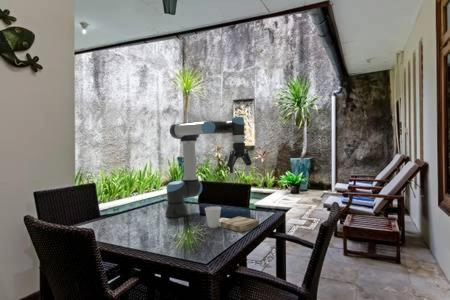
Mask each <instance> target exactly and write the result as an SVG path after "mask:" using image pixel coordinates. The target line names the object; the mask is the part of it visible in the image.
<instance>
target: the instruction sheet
mask: <svg viewBox="0 0 450 300" xmlns="http://www.w3.org/2000/svg"><path fill="white" fill-rule="evenodd" d="M229 219H230V218H226V217H220V219H219V223H221V222H222V221H225V220H229Z"/></svg>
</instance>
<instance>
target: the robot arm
mask: <svg viewBox="0 0 450 300" xmlns="http://www.w3.org/2000/svg"><path fill="white" fill-rule="evenodd" d="M169 134H170V136H171V137H172V138H174V139H176V140H180V143H182V148H183V149H182V152H183V168H184V169H183V170H184V171H183V173H184V176H183V178H182V180H174V181H171V182H169V183H168V184H167V185H166V199H167V204H166V210H165V214H164V215H165V218H169V217H170V219H171V218H172V219H175V218H176V217H177V218H183V217H186V216H188V210H187V207H186V204H185V200H186V199H190V198H196V197H198V196H200V194H201V193H202V192H203V184H202V182H201V181H200V180H199V177H198V175H197V161H196V160H197V159H196V143H197V142H198V138H199V137H200V135H209V134H211V135H213V134H221V135H223V134H224V135H226V134H232V142H233V143H232V149H233V150H230V151H229V156H228V160H227V164H226V167H228V168H229V173H230V179H235V167H234V166H235V165H236V162H237V161H238V159H239V158H241V159H242V161H243V162H244V164H245V165H244V173H245V175H244V176H245V177H246V176H247V177H249V176H250V170H251V169H250V166H252V164H253V162H252V160H251V158H250V155H249V154H250V153H249V149H246V143H245V142H246V140H245V139H246V138H245V137H246V135H245V134H246V133H245V118H244V116H233V117H232V118H231V120H228V121H222V120H221V121H217V120H205V121H200V122H174V123H172V124H171V125H170V127H169ZM177 218H176V219H177Z"/></svg>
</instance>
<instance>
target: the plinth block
mask: <svg viewBox="0 0 450 300" xmlns="http://www.w3.org/2000/svg"><path fill="white" fill-rule="evenodd" d="M228 219H229V220H225V221H222V222H220V228H223V229H228V230H232V231H236V232H239V233H242V232H244V231H245V232H246V231H248V230H251V229H254V228H257V227H259V226H260V220H259V219H253V218H248V217H243V216H235V217H232V218H228ZM258 225H259V226H258ZM253 227H254V228H253Z"/></svg>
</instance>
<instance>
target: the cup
mask: <svg viewBox="0 0 450 300" xmlns="http://www.w3.org/2000/svg"><path fill="white" fill-rule="evenodd" d="M221 210H222V207H221V206H207V207H205V208H204V211H205V216H206V222H207V226H208V227H209V228H210V229H216V228H218V227H220V222H219V219H221Z"/></svg>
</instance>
